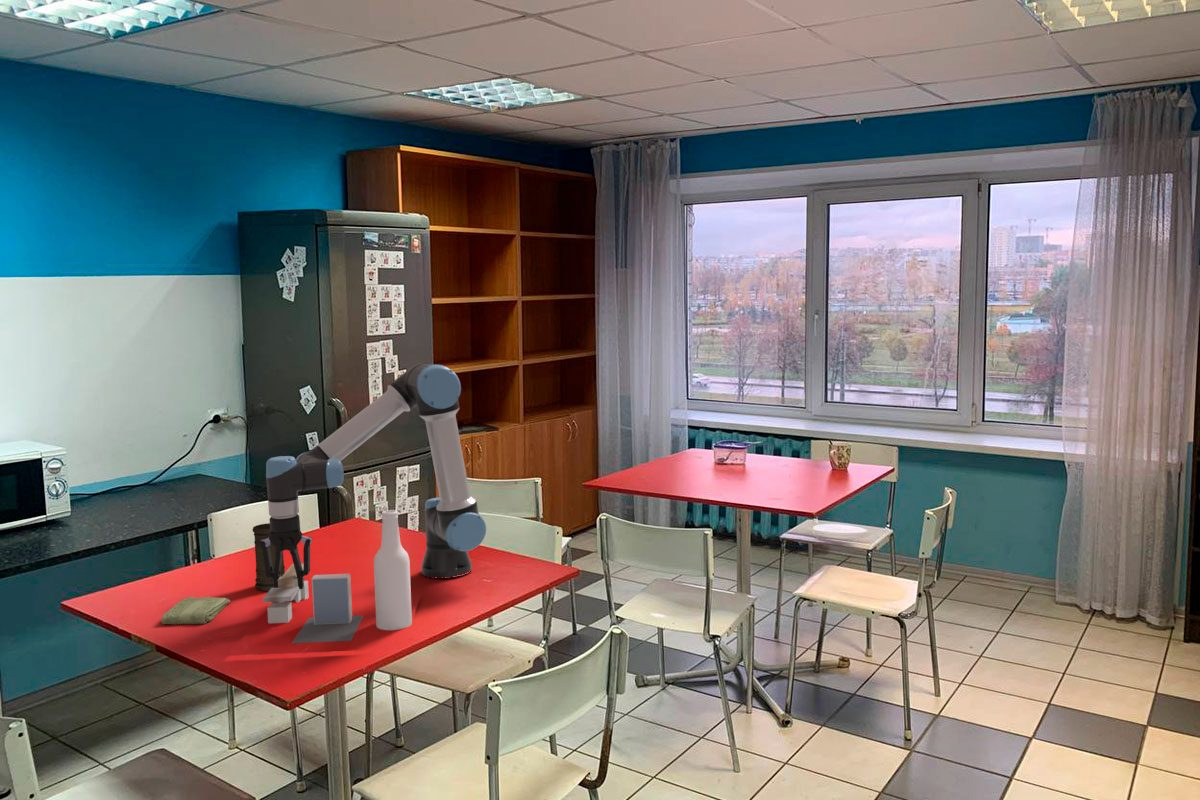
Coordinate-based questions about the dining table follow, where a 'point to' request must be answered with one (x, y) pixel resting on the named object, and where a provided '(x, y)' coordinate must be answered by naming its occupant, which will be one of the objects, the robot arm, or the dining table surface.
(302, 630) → the mat
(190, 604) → the washcloth
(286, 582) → the beige tapered bar
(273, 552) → the container
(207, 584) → the dining table surface
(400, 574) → the alcohol
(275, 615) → the tool rest
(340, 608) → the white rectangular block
